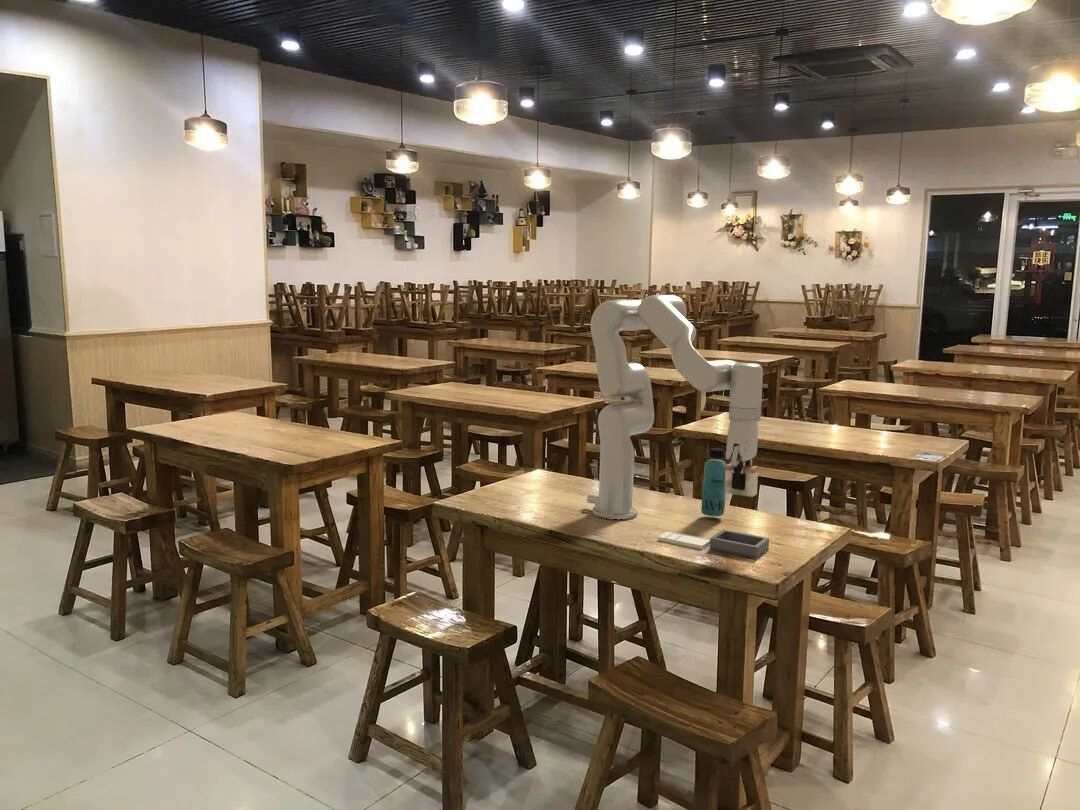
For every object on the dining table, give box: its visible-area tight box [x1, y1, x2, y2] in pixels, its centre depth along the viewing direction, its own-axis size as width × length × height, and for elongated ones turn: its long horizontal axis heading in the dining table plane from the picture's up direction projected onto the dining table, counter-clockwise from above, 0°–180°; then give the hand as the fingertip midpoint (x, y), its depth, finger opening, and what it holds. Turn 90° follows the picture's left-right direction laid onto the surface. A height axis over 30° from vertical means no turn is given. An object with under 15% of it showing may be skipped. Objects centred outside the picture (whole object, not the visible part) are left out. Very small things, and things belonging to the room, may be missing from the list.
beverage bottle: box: [700, 447, 728, 517], centre depth 238 cm, size 6×7×20 cm
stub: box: [725, 462, 759, 498], centre depth 210 cm, size 7×4×7 cm, turn 58°
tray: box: [709, 529, 770, 560], centre depth 212 cm, size 12×9×3 cm
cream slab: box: [657, 530, 710, 550], centre depth 218 cm, size 12×6×1 cm, turn 58°
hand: (741, 486), depth 210 cm, fingers closed on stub, 3 cm apart
